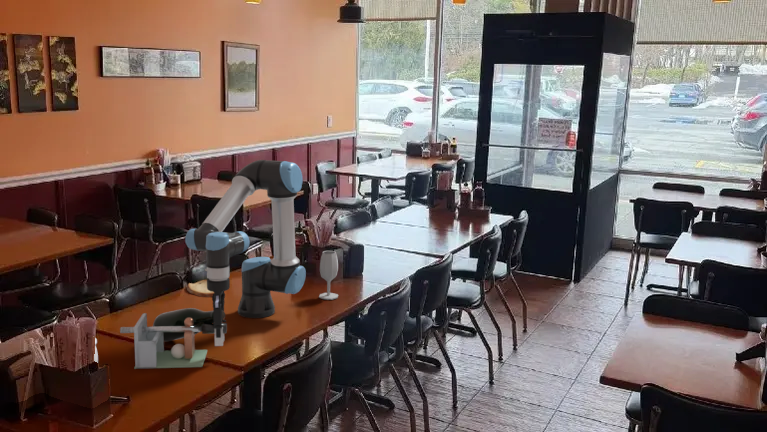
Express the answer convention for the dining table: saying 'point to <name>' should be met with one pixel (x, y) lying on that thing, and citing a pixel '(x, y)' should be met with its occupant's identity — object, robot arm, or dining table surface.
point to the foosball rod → (188, 330)
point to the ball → (178, 351)
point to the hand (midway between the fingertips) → (219, 343)
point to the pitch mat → (179, 360)
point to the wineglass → (328, 272)
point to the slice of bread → (200, 289)
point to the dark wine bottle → (179, 317)
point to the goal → (146, 344)
